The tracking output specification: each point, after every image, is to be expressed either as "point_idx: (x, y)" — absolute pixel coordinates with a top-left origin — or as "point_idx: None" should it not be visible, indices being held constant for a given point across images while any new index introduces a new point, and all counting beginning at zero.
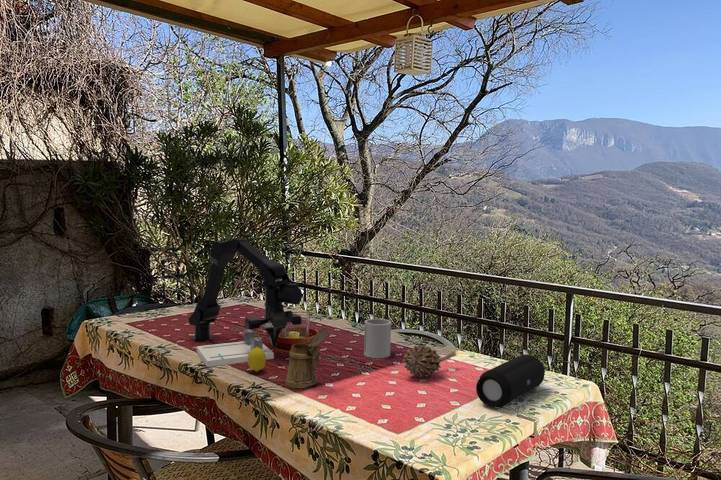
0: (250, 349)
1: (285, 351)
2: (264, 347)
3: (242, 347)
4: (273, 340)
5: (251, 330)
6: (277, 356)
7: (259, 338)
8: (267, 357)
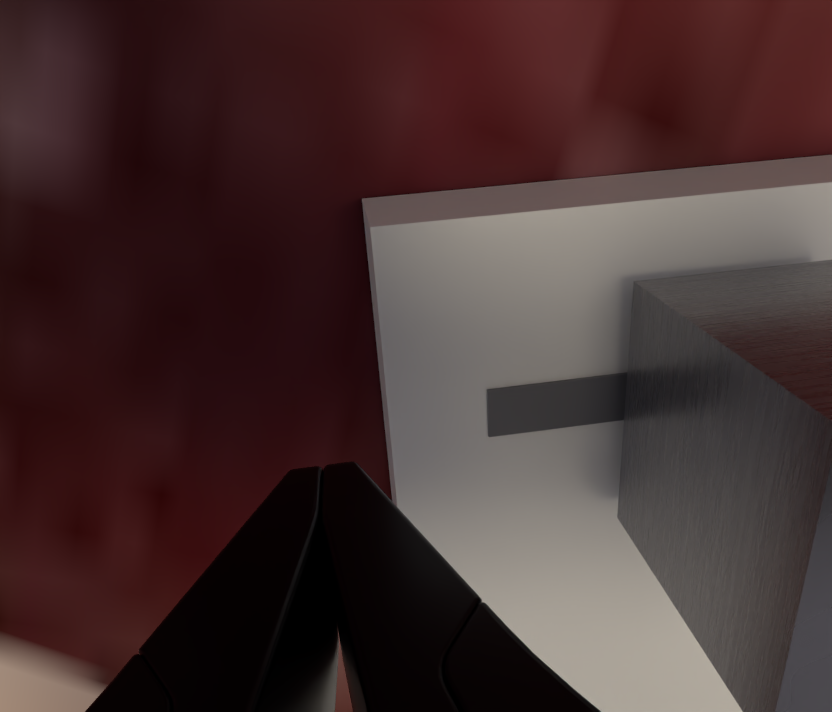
0: None
1: (55, 567)
2: None
3: None
4: (350, 541)
5: None
6: (252, 322)
7: (806, 667)
8: (502, 193)
